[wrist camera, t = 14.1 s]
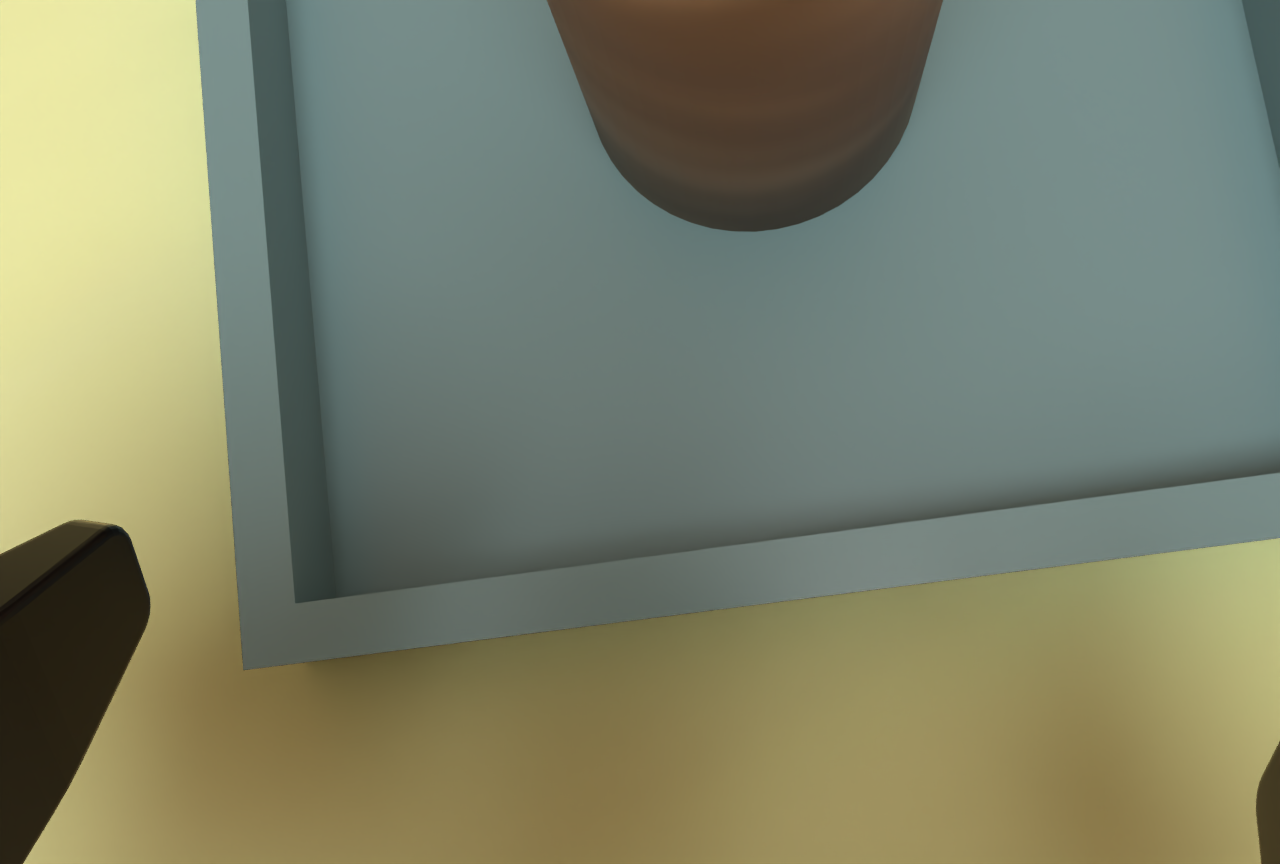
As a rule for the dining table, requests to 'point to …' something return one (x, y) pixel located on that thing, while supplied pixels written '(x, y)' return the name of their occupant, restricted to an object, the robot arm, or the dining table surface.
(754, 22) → the pepper mill
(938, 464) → the tray
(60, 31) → the dining table surface
